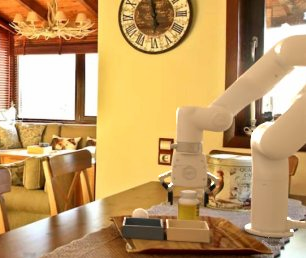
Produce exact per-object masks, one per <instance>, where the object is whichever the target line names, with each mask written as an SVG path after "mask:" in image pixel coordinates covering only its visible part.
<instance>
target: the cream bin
mask: <svg viewBox="0 0 306 258" xmlns="http://www.w3.org/2000/svg"><path fill="white" fill-rule="evenodd" d="M165 232H166V233H165V234H166V240H167V241H173V242H174V241H175V242H191V243H192V242H193V243H208V244H210V243H211V230H210V226H209V225H208V223H207V221H206V220H199V221H195V220H178V219H175V218H173V219H171V218H166V219H165Z"/></svg>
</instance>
